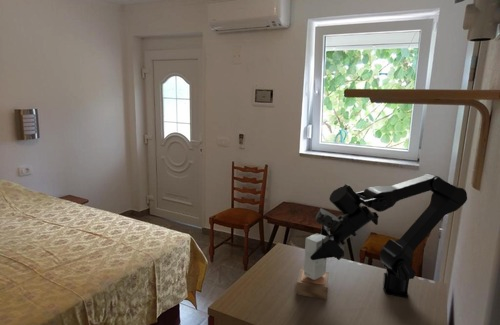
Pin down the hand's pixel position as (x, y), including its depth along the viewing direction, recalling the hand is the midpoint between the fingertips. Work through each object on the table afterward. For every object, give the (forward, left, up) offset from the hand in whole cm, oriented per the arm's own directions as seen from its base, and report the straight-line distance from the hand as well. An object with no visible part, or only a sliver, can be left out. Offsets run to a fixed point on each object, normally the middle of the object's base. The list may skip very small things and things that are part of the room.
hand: (311, 253), depth 101 cm
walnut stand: (-1, 0, -12) cm, 12 cm away
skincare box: (-1, 0, -7) cm, 7 cm away
